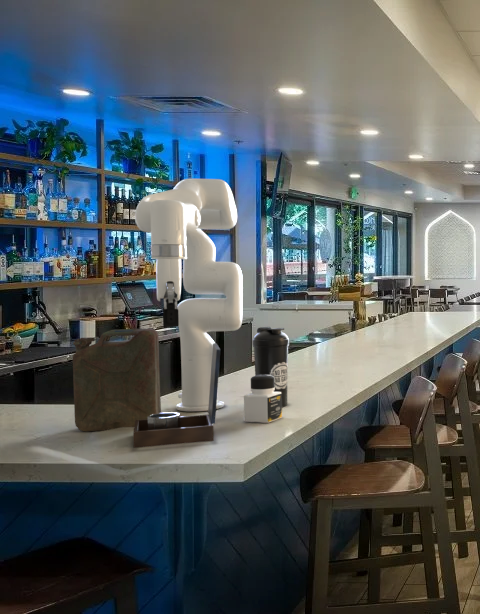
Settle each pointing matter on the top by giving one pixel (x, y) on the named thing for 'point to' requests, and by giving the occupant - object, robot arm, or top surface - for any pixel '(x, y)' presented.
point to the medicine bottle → (262, 400)
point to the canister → (116, 380)
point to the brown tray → (174, 432)
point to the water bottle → (272, 357)
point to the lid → (214, 383)
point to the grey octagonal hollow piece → (164, 421)
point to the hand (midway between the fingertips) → (170, 325)
